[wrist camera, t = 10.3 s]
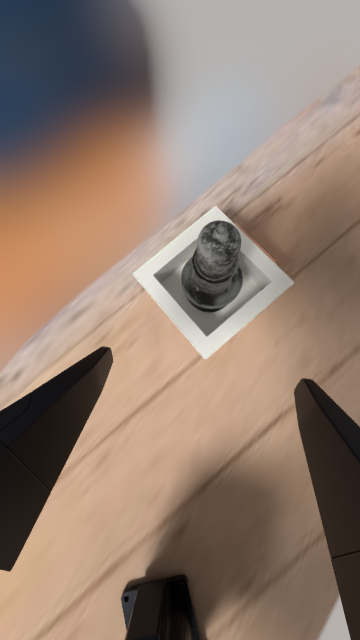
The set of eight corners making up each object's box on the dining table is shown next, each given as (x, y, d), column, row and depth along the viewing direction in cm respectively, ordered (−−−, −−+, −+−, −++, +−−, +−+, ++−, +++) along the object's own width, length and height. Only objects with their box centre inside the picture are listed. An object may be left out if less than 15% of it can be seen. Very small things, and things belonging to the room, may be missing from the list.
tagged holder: (281, 292, 24) (297, 279, 20) (203, 358, 23) (205, 359, 19) (214, 226, 26) (218, 203, 22) (142, 286, 25) (132, 274, 21)
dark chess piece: (227, 258, 24) (258, 165, 12) (242, 307, 23) (293, 258, 11) (177, 272, 24) (159, 194, 12) (190, 321, 23) (184, 288, 11)
